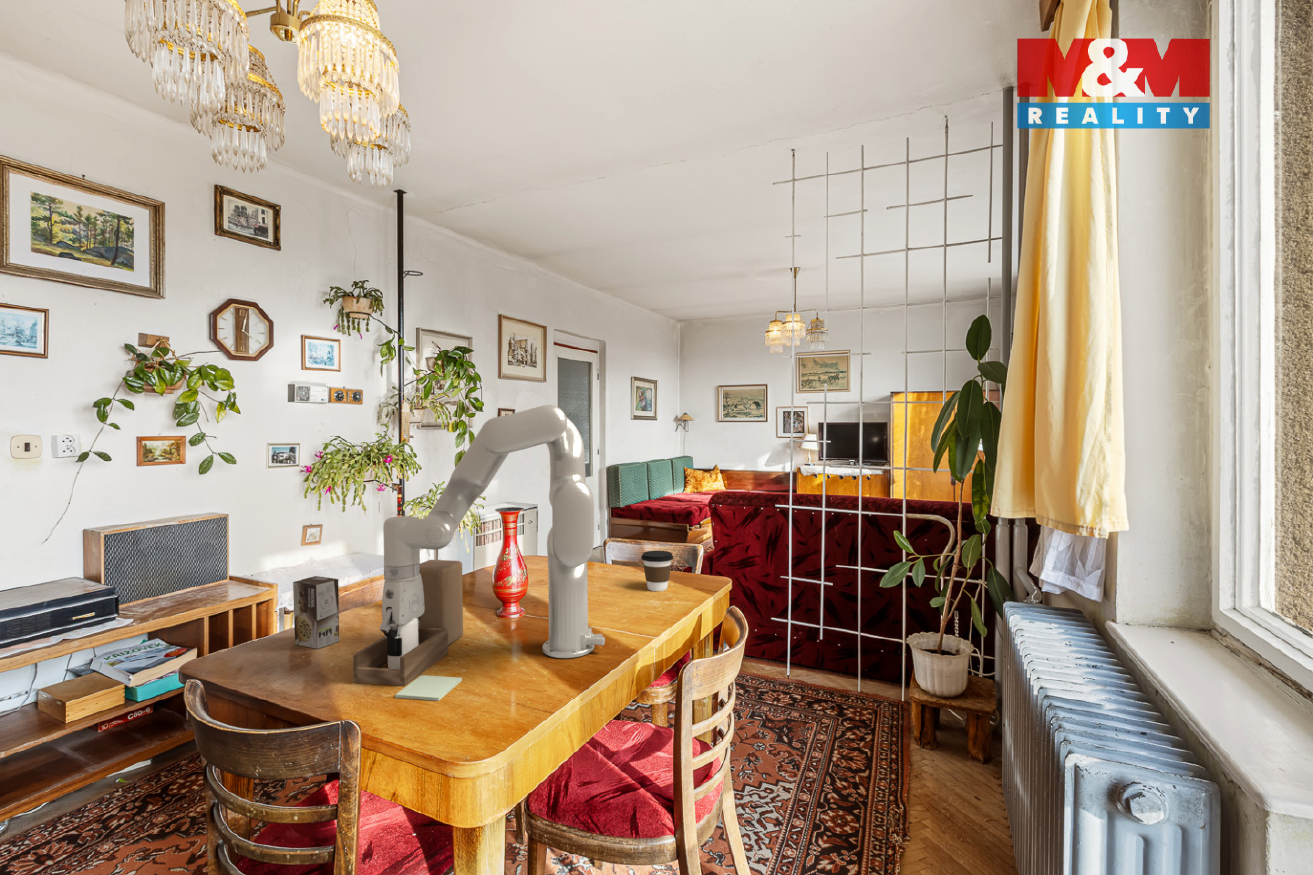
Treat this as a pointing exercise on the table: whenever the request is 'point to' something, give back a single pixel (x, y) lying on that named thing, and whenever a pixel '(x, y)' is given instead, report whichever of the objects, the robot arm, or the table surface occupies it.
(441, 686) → the sage mat
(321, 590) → the coffee box
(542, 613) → the table surface
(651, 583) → the coffee cup
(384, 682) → the walnut box
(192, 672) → the table surface
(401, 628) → the can
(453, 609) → the block
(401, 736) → the table surface
